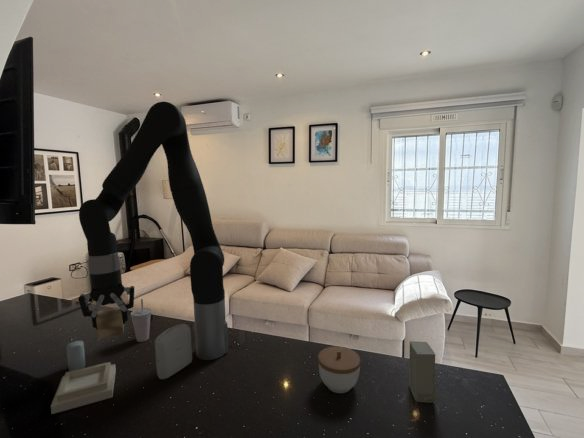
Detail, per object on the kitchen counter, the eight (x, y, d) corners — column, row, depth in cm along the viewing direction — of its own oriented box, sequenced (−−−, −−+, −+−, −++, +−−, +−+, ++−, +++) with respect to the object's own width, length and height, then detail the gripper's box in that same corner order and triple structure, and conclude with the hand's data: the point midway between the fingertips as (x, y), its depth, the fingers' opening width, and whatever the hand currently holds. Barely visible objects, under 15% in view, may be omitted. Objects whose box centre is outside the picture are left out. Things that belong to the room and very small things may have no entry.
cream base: (115, 370, 85) (114, 358, 84) (112, 397, 74) (111, 384, 74) (63, 383, 79) (62, 371, 79) (51, 414, 69) (50, 400, 68)
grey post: (86, 361, 89) (84, 339, 88) (84, 369, 85) (82, 345, 85) (70, 365, 87) (67, 342, 86) (67, 373, 84) (65, 349, 83)
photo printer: (164, 381, 80) (161, 337, 78) (154, 376, 82) (151, 333, 80) (194, 362, 88) (192, 322, 87) (184, 358, 91) (182, 318, 89)
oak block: (124, 325, 91) (122, 306, 91) (123, 333, 86) (121, 313, 85) (101, 330, 89) (98, 310, 88) (98, 339, 83) (96, 318, 83)
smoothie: (147, 344, 99) (144, 303, 97) (128, 344, 99) (125, 303, 97) (156, 334, 105) (154, 295, 103) (138, 334, 105) (135, 295, 104)
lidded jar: (350, 370, 84) (351, 338, 83) (366, 397, 73) (367, 360, 72) (313, 374, 82) (313, 342, 81) (324, 402, 72) (324, 365, 71)
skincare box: (434, 403, 71) (437, 355, 70) (415, 402, 71) (417, 354, 70) (425, 386, 77) (427, 341, 76) (407, 385, 78) (409, 340, 76)
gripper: (71, 276, 79) (79, 337, 81) (133, 268, 85) (139, 324, 87) (76, 270, 85) (83, 326, 87) (133, 262, 92) (139, 315, 94)
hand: (111, 325), depth 87 cm, fingers closed on oak block, 6 cm apart
